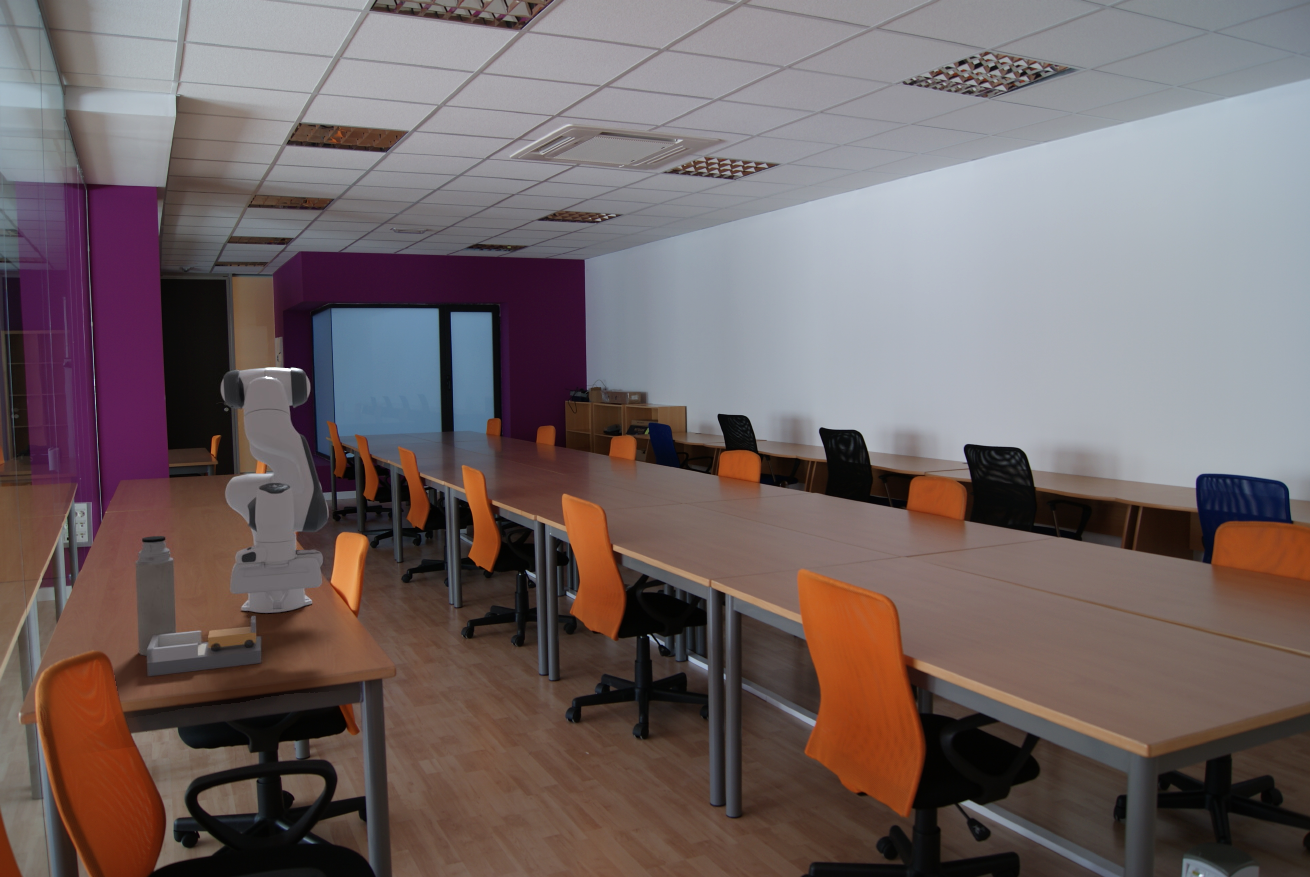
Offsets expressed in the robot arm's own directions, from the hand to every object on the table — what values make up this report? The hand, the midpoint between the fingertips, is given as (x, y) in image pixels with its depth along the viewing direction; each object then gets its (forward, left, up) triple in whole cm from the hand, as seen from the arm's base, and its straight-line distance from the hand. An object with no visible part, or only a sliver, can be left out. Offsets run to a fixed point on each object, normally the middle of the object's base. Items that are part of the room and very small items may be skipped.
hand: (277, 608), depth 208 cm
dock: (0, -15, -11) cm, 19 cm away
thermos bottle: (-14, -27, -11) cm, 33 cm away
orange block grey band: (-1, -10, -8) cm, 13 cm away
